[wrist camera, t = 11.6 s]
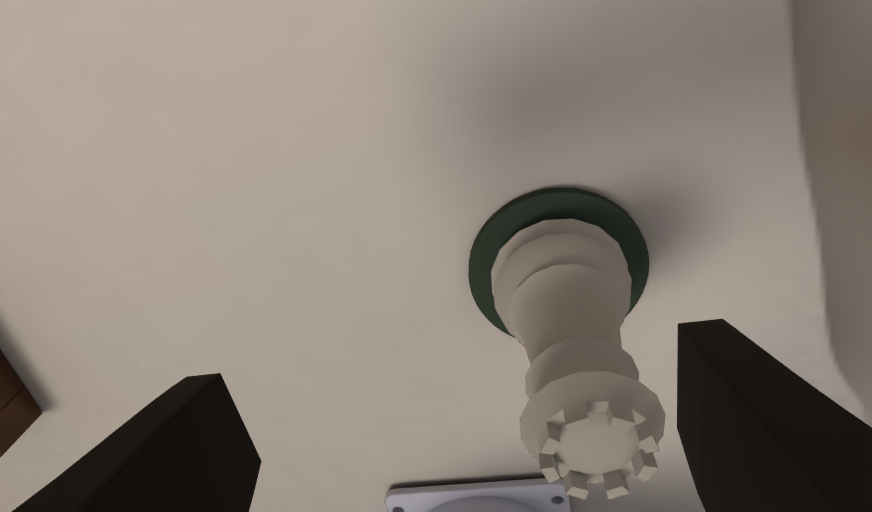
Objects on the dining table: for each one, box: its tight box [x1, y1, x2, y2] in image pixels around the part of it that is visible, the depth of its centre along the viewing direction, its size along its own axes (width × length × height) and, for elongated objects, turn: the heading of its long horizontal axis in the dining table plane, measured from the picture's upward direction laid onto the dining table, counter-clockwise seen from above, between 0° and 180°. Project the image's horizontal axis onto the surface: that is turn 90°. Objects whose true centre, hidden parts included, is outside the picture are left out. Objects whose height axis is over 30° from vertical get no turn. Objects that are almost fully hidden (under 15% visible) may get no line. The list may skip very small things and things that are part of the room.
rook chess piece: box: [491, 219, 665, 499], centre depth 16 cm, size 4×4×8 cm
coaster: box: [469, 188, 649, 338], centre depth 19 cm, size 6×6×1 cm
